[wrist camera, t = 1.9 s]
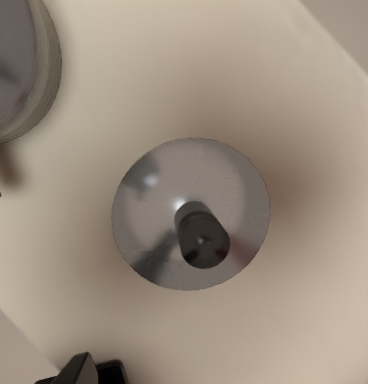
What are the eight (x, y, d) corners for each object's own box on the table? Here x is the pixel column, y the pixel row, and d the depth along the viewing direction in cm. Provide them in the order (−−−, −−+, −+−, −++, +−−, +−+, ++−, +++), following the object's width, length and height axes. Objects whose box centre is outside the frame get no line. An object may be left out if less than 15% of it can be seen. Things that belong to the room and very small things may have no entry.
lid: (271, 266, 19) (308, 308, 15) (133, 298, 19) (127, 353, 14) (256, 124, 17) (296, 121, 12) (95, 155, 16) (71, 165, 11)
